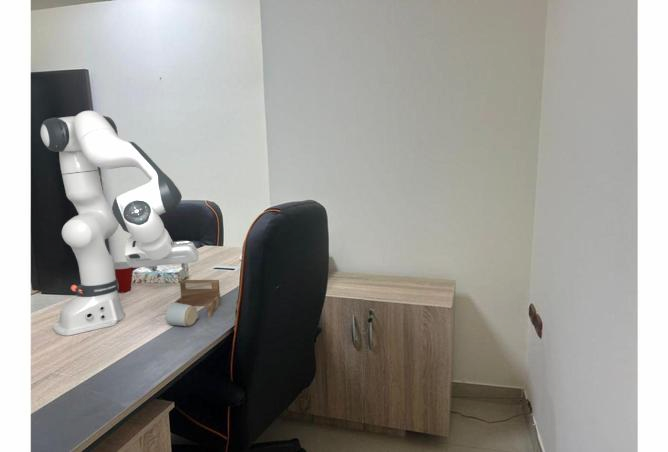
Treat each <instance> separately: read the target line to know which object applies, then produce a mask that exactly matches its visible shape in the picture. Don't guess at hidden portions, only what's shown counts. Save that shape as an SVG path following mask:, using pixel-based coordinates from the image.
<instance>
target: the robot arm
mask: <svg viewBox="0 0 668 452" xmlns="http://www.w3.org/2000/svg"><path fill="white" fill-rule="evenodd" d="M40 137H41V140H42V143H43V144H44V146H45V147H46V148H47V149H48V150H49V151H51V152H57V153H58V154H59V165H60V167H59V168H60V171H61V172H60V173H61V176H62V181H63V185H64V190H65V194H66V195H65V197H66V198H67V199H68V200H69V201H70V202H71V203H72V204H73V206H74V207H75V209H76V211H77V214H78V215H75V216H73V217H71V218H70V219H69V220H67V221H66V222H65V224H64V225H63V227H62V229H61V237H62V239H63V241H64V242H65V244H67V245H69V246H70V248H71V249H72V252H73V253H74V256H75V258H76V261H77V265H78V271H79V278H80V284H78V285H76V284H73V285H71V286H70V290H71V291H72V292H75V296H74V297H73V298H72V299H71V300H70V301H69V302H68V303H67V304H66V305H64V307H62V308H61V310H60V314H59V321H58V322H54V324H53V325H52V327H53V332H55V333H56V334H58V335H61V336H72V335H76V334H82V333H86V332H91V331H94V330H99V329H103V328H107V327H112V326H115V325H117V324H118V322H120V321H121V320H123V319H124V318H125V316H126V313H125V312H124V309H123V306H122V302H121V300H120V296H119V294H120V293H119V286H118V281H117V278H116V276H115V267H114V263H115V260H114V257H113V256H112V255H111V254H110V252H109V251H108V248H107V245H106V240H107V239H108V238H110V237H112V236H113V235H114V234H115V232H116V231H117V230H118V228H119V225H120V227H121V228H122V230H123V231H124V232H127V233H128V234H129V235H130V236H129V237H128V238H127V240H126V243H125V247H124V257H125V260H126V261H125V262H127V263H128V264H129V266H130V267H133V269H134V268H135V269H136V268H145V269H148V270H150V271H151V272H152V273H153V272H158V266H168V265H178V264H179V265H181V268H182V269H183V270H184V269H188V267H189V265H188V264H189V263H196V262H197V261H199V251H198V248H197V246H196V245H195V243H194V242H193V241H189V240H177V241H173V239H172V238H171V236H170V234H169V232H168V230H167V229H166V228H165V225H164V222H163V220H162V218H161V217H160V215H162V214H164V213H169V212H171V211H174V210H176V209H178V207H179V206H180V203H181V201H182V199H183V198H182V197H183V196H182V193H181V190H180V188H179V186H178V185H177V184H176V182H175V181H174V180H172V179H171V178H170V177H169V176H168V175H167V174H166V173H165V172H164V171H163V170H162V169H161V168H160V167H159V166H158V165H157V163H155V161H153V159H152V158H151V157H150V156H149V155H148V154H147V153H146V152H145V151H144V150H143V149H142V148H141V147H140V146H139V145H138V144H136V142H133V141H127V140H124V139H123V138H120V136H119V135H118V128H117V125H116V123H115V121H114V120H113V119H112V118H111V117H109V116H105V115H102V114H101V113H100V112H98V111H96V110H84V111H80V112H79V113H78V114H76V115H74V116H72V115H71V116H64V117H50V118H48V119H45V120H44V121H43V122H42V123H41V125H40ZM130 167H131V168H138V169H140V170H141V171H142V172H143V174H144V175H145V176H146V177H147V178H148V179H149V181H148V182H147V183H144V184H142V185H140V186H137V187H135V188H134V189H130V190H128V191H126V192H124V193H122V194H119V195H118V196H116V197H115V198H114V199H113V202H112V206H111V208H110V204H109V202H108V201H107V199H106V196H105V194H104V190H103V185H102V180H101V176H100V172H99V168H101V169H106V170H107V169H108V170H109V169H110V170H112V169H119V168H130Z"/></svg>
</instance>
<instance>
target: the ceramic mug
mask: <svg viewBox="0 0 668 452" xmlns="http://www.w3.org/2000/svg"><path fill="white" fill-rule="evenodd" d="M198 319H199V314H198V310H197V308H196V306H191V305H186V304H181V303H176V302H175V301H174V302H172V303H170V304H169V306H168V307H167V309H166V312H165V320H166V323H167V324H168V325H170V326H177V327H192V326H193V325H194V324H195V323H196V320H198Z"/></svg>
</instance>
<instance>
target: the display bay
mask: <svg viewBox="0 0 668 452" xmlns="http://www.w3.org/2000/svg"><path fill="white" fill-rule="evenodd" d="M179 287H180V288H179V289H180V297H179V298H178V299H176V301H174V302H176V303H181V304H186V305H191V306H194V307H206V309H207V317H209V318H210V317H212V315H213V314H214V313H215V312H216V310H218V308H220V307H221V295H220V294H221V292H220V290H221V289H220V280H219V279H181V280H179Z"/></svg>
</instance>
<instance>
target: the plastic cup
mask: <svg viewBox="0 0 668 452" xmlns="http://www.w3.org/2000/svg"><path fill="white" fill-rule="evenodd" d="M114 267H115V276H116V278H117V281H118V286H119V293H118V294H122V293H123V294H124V293H127V292H130V291H131V289H132V283H133V271H134V268H133V267H130V266H129V264H128V263H127V261H117V262H116V261H115V262H114Z"/></svg>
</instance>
